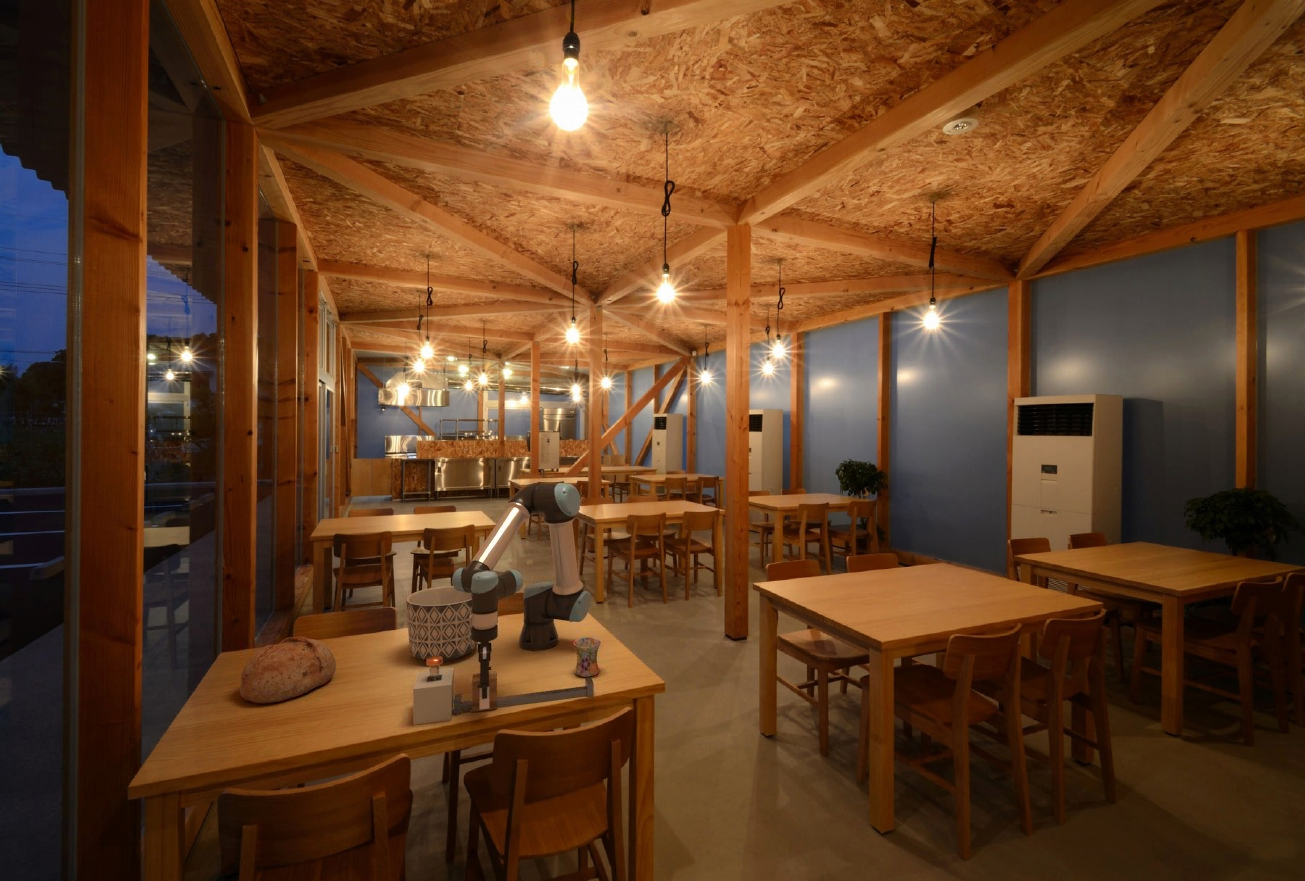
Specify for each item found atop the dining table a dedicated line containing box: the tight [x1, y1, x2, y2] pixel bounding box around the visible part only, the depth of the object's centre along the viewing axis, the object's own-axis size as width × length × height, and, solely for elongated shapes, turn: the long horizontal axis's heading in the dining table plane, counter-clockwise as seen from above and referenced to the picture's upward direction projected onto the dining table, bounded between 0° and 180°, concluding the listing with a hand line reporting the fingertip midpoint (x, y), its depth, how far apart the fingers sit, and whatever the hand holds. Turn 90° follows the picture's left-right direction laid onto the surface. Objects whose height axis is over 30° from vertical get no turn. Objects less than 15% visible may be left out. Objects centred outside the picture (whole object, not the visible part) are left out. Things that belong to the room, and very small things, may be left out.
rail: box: [453, 677, 595, 715], centre depth 168 cm, size 4×41×4 cm, turn 107°
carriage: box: [471, 671, 498, 713], centre depth 165 cm, size 5×7×9 cm
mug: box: [572, 636, 601, 678], centre depth 190 cm, size 12×9×11 cm
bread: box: [239, 636, 337, 704], centre depth 178 cm, size 26×23×15 cm
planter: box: [405, 585, 479, 662], centre depth 205 cm, size 26×26×22 cm
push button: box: [425, 656, 444, 681], centre depth 162 cm, size 4×4×6 cm
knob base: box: [412, 667, 455, 726], centre depth 162 cm, size 12×10×10 cm
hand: (484, 700), depth 165 cm, fingers open, 9 cm apart
